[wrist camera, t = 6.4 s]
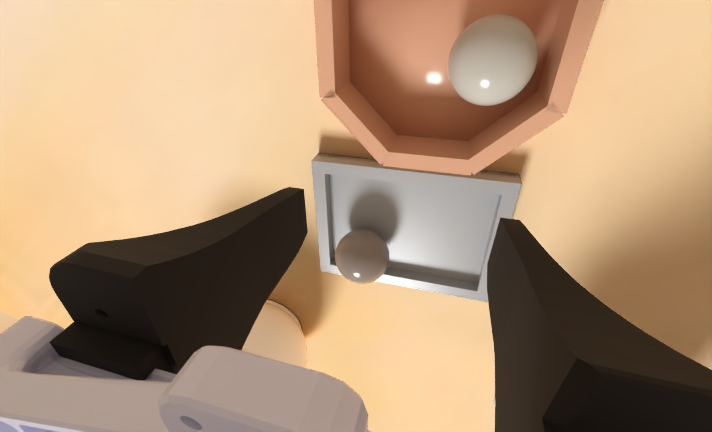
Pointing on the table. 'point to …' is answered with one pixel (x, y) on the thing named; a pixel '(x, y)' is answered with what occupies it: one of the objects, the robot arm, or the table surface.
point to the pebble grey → (492, 59)
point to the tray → (415, 220)
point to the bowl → (441, 77)
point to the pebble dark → (362, 256)
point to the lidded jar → (277, 336)
